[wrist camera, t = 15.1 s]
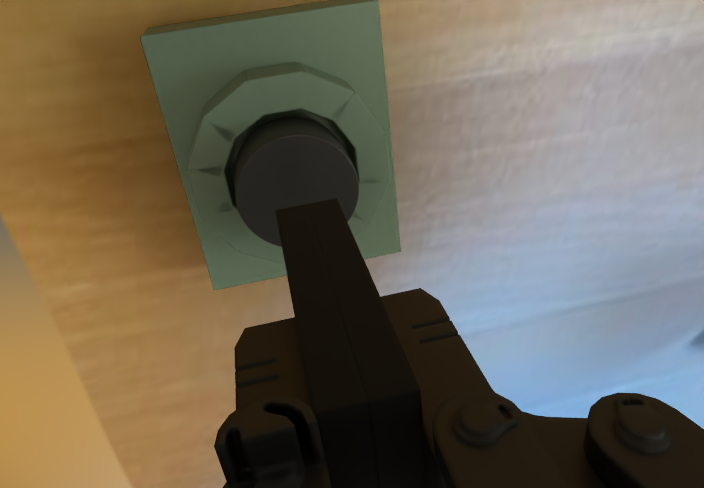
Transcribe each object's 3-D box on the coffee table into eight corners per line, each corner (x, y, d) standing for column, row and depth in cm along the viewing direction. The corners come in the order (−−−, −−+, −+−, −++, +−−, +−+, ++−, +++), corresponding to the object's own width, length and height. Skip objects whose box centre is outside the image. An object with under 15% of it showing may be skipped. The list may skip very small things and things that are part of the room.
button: (222, 127, 18) (222, 146, 16) (340, 106, 19) (352, 123, 17) (248, 232, 20) (249, 259, 18) (354, 212, 21) (365, 236, 19)
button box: (147, 28, 20) (130, 44, 16) (364, -5, 21) (392, 3, 17) (215, 264, 25) (213, 315, 21) (388, 229, 25) (413, 273, 22)
